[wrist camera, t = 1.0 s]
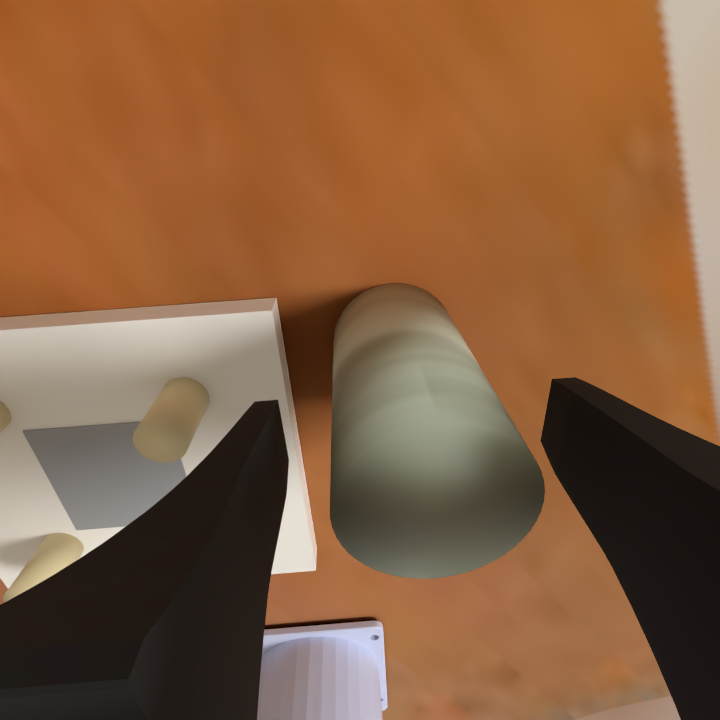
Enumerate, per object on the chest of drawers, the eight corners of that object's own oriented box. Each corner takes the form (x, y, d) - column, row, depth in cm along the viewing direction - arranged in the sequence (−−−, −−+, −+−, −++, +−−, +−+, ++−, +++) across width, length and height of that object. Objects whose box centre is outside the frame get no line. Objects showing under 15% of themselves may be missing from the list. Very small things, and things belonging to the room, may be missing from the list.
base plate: (316, 548, 21) (312, 625, 18) (29, 571, 21) (-28, 653, 18) (276, 297, 15) (259, 345, 12) (-134, 327, 15) (-269, 384, 11)
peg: (449, 386, 17) (530, 570, 10) (338, 395, 17) (339, 586, 10) (455, 278, 15) (561, 414, 8) (328, 288, 15) (318, 433, 8)
